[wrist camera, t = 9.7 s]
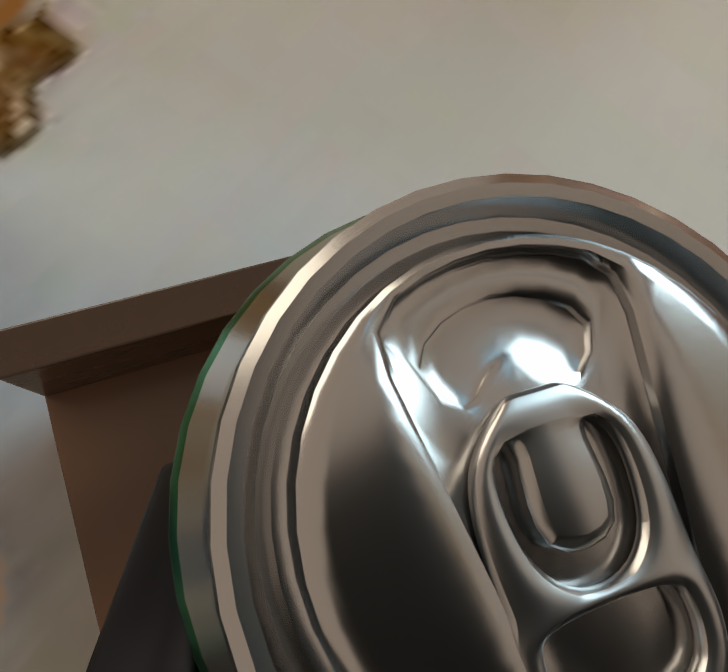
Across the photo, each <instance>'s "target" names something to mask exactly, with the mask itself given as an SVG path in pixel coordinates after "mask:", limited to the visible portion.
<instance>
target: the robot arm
mask: <svg viewBox="0 0 728 672" xmlns="http://www.w3.org/2000/svg"><path fill="white" fill-rule="evenodd" d="M173 462H174V461H173ZM173 462H171V463H169V464H167V465H165V466H163V467H162V469H161V470H160V472H159V475H158V478H157V480H156V483H155V486H154V489H153V491H152V494H151V497H150V499H149V502H148V505H147V508H146V510H145V513H144V516H143V518H142V521H141V524H140V527H139V529H138V532H137V535H136V537H135V540H134V543H133V546H132V548H131V551H130V554H129V556H128V559H127V562H126V565H125V567H124V570H123V573H122V575H121V578H120V581H119V584H118V586H117V589H116V592H115V594H114V597H113V600H112V602H111V605H110V608H109V611H108V613H107V616H106V619H105V621H104V624H103V627H102V630H101V632H100V635H99V638H98V640H97V643H96V646H95V649H94V651H93V654H92V657H91V659H90V662H89V665H88V668H87V670H86V672H200V671H199V668H198V666H197V664H196V662H195V660H194V658H193V655H192V651H191V648H190V645H189V641H188V638H187V634H186V631H185V628H184V624H183V621H182V618H181V614H180V611H179V608H178V604H177V601H176V595H175V587H174V580H173V572H172V564H171V557H170V549H169V541H168V532H169V496H170V478H171V473H172V467H173Z"/></svg>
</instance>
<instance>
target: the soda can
mask: <svg viewBox="0 0 728 672" xmlns="http://www.w3.org/2000/svg"><path fill="white" fill-rule="evenodd" d="M168 541H169V549H170V557H171V564H172V572H173V580H174V587H175V595H176V601H177V604H178V608H179V611H180V614H181V618H182V621H183V624H184V628H185V631H186V634H187V638H188V641H189V645H190V648H191V651H192V655H193V658H194V660H195V662H196V664H197V666H198V668H199V671H200V672H728V256H727V255H726V254H725V253H724V252H723V251H722V250H720V249H719V248H718V247H717V246H716V245H715V244H713V243H712V242H710V241H709V240H707V239H706V238H704V237H703V236H701V235H700V234H698V233H697V232H695V231H694V230H692V229H691V228H689V227H688V226H686V225H685V224H683V223H682V222H680V221H679V220H677V219H676V218H674V217H672V216H670V215H668V214H666V213H664V212H662V211H660V210H658V209H656V208H654V207H652V206H650V205H648V204H646V203H644V202H642V201H640V200H638V199H636V198H633V197H630V196H627V195H624V194H621V193H618V192H615V191H612V190H609V189H606V188H603V187H600V186H597V185H594V184H591V183H585V182H580V181H575V180H570V179H564V178H559V177H554V176H547V175H523V174H498V175H489V176H480V177H471V178H462V179H457V180H454V181H450V182H447V183H443V184H439V185H436V186H432V187H428V188H425V189H421V190H418V191H415V192H413V193H411V194H409V195H406V196H404V197H402V198H400V199H398V200H395V201H393V202H391V203H389V204H387V205H385V206H382V207H380V208H378V209H376V210H374V211H372V212H371V213H370V214H368V215H366V216H363V217H361V218H359V219H356V220H354V221H352V222H350V223H348V224H346V225H343V226H341V227H339V228H337V229H335V230H333V231H330V232H328V233H326V234H324V235H323V236H321V237H320V238H318V239H317V240H315V241H314V242H312V243H311V244H309V245H308V246H306V247H305V248H303V249H302V250H300V251H299V252H297V253H296V254H294V255H293V256H291V257H290V258H288V259H287V260H286V261H285V262H284V263H283V264H282V265H281V266H280V267H278V268H277V269H276V270H275V271H274V272H273V273H272V274H271V275H270V276H269V277H268V278H267V279H266V280H265V281H263V282H262V283H261V284H260V285H259V286H258V287H257V288H256V289H255V290H254V291H253V292H252V293H251V295H250V296H249V297H248V298H247V300H246V301H245V302H244V304H243V305H242V306H241V307H240V309H239V310H238V311H237V313H236V314H235V315H234V316H233V318H232V319H231V320H230V322H229V323H228V324H227V326H226V327H225V328H224V329H223V331H222V333H221V335H220V336H219V338H218V340H217V342H216V344H215V346H214V347H213V349H212V351H211V353H210V355H209V357H208V358H207V360H206V362H205V364H204V366H203V367H202V369H201V371H200V373H199V375H198V377H197V380H196V383H195V386H194V389H193V391H192V394H191V397H190V400H189V403H188V406H187V408H186V411H185V414H184V417H183V420H182V422H181V425H180V430H179V435H178V441H177V446H176V451H175V457H174V462H173V467H172V473H171V478H170V496H169V532H168Z"/></svg>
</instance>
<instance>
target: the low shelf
mask: <svg viewBox="0 0 728 672" xmlns="http://www.w3.org/2000/svg"><path fill="white" fill-rule="evenodd" d="M290 257H291V256H290ZM290 257H286V258H282V259H278V260H274V261H270V262H266V263H262V264H258V265H254V266H250V267H246V268H242V269H239V270H235V271H231V272H227V273H223V274H219V275H215V276H211V277H207V278H203V279H199V280H195V281H191V282H187V283H183V284H179V285H175V286H171V287H168V288H164V289H160V290H156V291H152V292H148V293H144V294H140V295H136V296H132V297H128V298H124V299H120V300H116V301H112V302H108V303H104V304H100V305H96V306H93V307H89V308H85V309H81V310H77V311H73V312H69V313H65V314H61V315H57V316H53V317H49V318H45V319H41V320H37V321H33V322H29V323H25V324H21V325H18V326H14V327H10V328H6V329H2V330H0V380H2V381H5V382H7V383H10V384H13V385H16V386H18V387H21V388H24V389H27V390H29V391H32V392H35V393H38V394H40V395H43V396H45V398H46V403H47V407H48V411H49V416H50V420H51V424H52V428H53V433H54V437H55V441H56V446H57V450H58V454H59V458H60V463H61V467H62V471H63V476H64V480H65V484H66V488H67V493H68V497H69V501H70V506H71V510H72V514H73V518H74V523H75V527H76V531H77V536H78V540H79V544H80V548H81V553H82V557H83V561H84V566H85V570H86V574H87V578H88V583H89V587H90V591H91V596H92V600H93V604H94V608H95V613H96V617H97V621H98V626H99V630H100V632H101V630H102V627H103V624H104V621H105V619H106V616H107V613H108V611H109V608H110V605H111V602H112V600H113V597H114V594H115V592H116V589H117V586H118V584H119V581H120V578H121V575H122V573H123V570H124V567H125V565H126V562H127V559H128V556H129V554H130V551H131V548H132V546H133V543H134V540H135V537H136V535H137V532H138V529H139V527H140V524H141V521H142V518H143V516H144V513H145V510H146V508H147V505H148V502H149V499H150V497H151V494H152V491H153V489H154V486H155V483H156V480H157V478H158V475H159V472H160V470H161V469H162V467H163V466H165V465H167V464H169V463H171V462H173V461H174V457H175V451H176V446H177V441H178V435H179V430H180V425H181V422H182V420H183V417H184V414H185V411H186V408H187V406H188V403H189V400H190V397H191V394H192V391H193V389H194V386H195V383H196V380H197V377H198V375H199V373H200V371H201V369H202V367H203V366H204V364H205V362H206V360H207V358H208V357H209V355H210V353H211V351H212V349H213V347H214V346H215V344H216V342H217V340H218V338H219V336H220V335H221V333H222V331H223V329H224V328H225V327H226V326H227V324H228V323H229V322H230V320H231V319H232V318H233V316H234V315H235V314H236V313H237V311H238V310H239V309H240V307H241V306H242V305H243V304H244V302H245V301H246V300H247V298H248V297H249V296H250V295H251V293H252V292H253V291H254V290H255V289H256V288H257V287H258V286H259V285H260V284H261V283H262V282H263V281H265V280H266V279H267V278H268V277H269V276H270V275H271V274H272V273H273V272H274V271H275V270H276V269H277V268H278V267H280V266H281V265H282V264H283V263H284V262H285V261H286V260H287V259H288V258H290Z"/></svg>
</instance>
